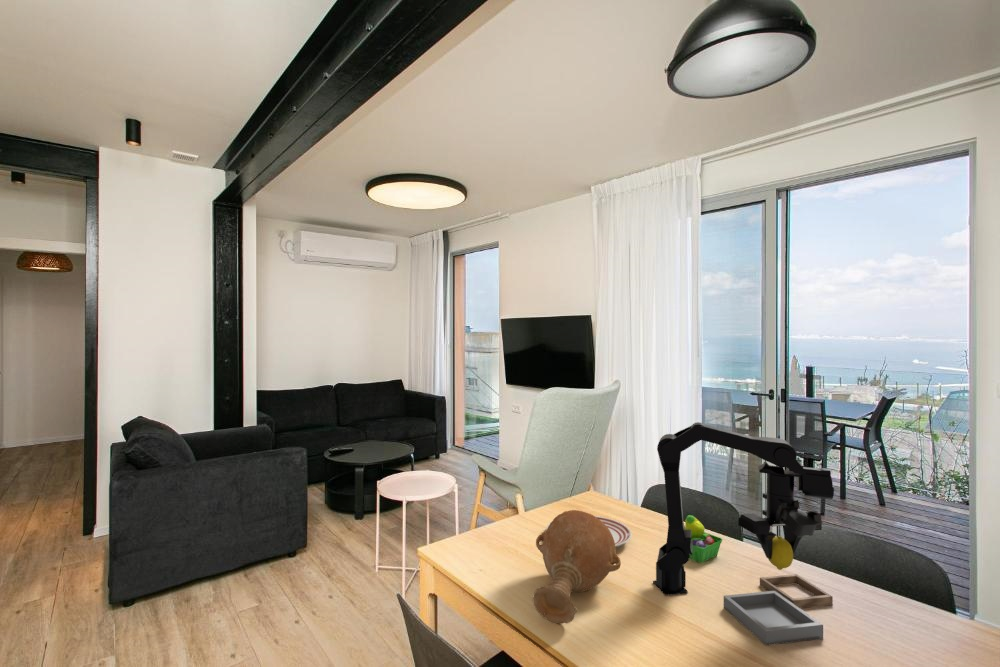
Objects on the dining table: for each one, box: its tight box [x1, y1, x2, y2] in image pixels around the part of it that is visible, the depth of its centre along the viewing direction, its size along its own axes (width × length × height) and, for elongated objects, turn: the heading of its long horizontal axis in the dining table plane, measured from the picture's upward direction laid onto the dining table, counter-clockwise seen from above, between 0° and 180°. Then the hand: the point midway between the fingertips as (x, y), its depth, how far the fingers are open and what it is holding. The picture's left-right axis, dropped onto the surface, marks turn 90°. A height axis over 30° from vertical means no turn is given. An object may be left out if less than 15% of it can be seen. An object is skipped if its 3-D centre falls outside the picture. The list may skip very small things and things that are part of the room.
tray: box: [723, 590, 824, 646], centre depth 106 cm, size 14×14×3 cm
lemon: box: [768, 535, 794, 571], centre depth 111 cm, size 6×6×8 cm
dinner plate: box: [545, 515, 633, 548], centre depth 152 cm, size 28×27×3 cm
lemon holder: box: [759, 573, 834, 609], centre depth 118 cm, size 11×11×2 cm
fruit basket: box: [684, 514, 723, 564], centre depth 140 cm, size 11×9×11 cm
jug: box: [532, 509, 622, 625], centre depth 118 cm, size 20×19×30 cm
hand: (779, 557), depth 111 cm, fingers closed on lemon, 6 cm apart
